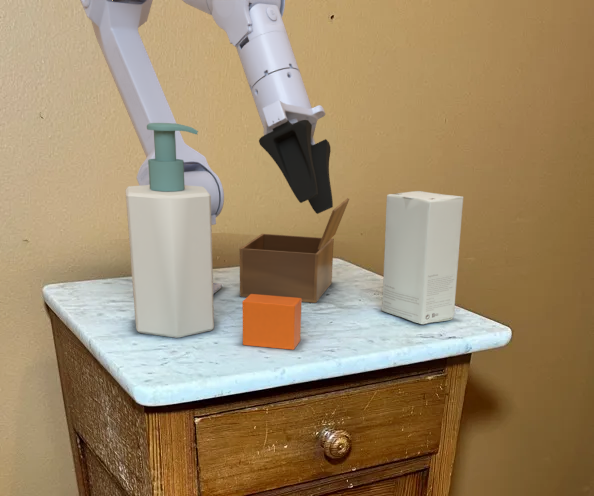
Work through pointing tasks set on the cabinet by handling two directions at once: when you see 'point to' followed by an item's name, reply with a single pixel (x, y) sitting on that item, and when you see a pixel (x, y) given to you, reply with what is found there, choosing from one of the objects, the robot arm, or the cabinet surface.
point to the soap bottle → (170, 245)
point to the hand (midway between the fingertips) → (316, 204)
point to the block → (271, 321)
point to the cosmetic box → (421, 255)
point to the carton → (286, 267)
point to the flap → (333, 223)
